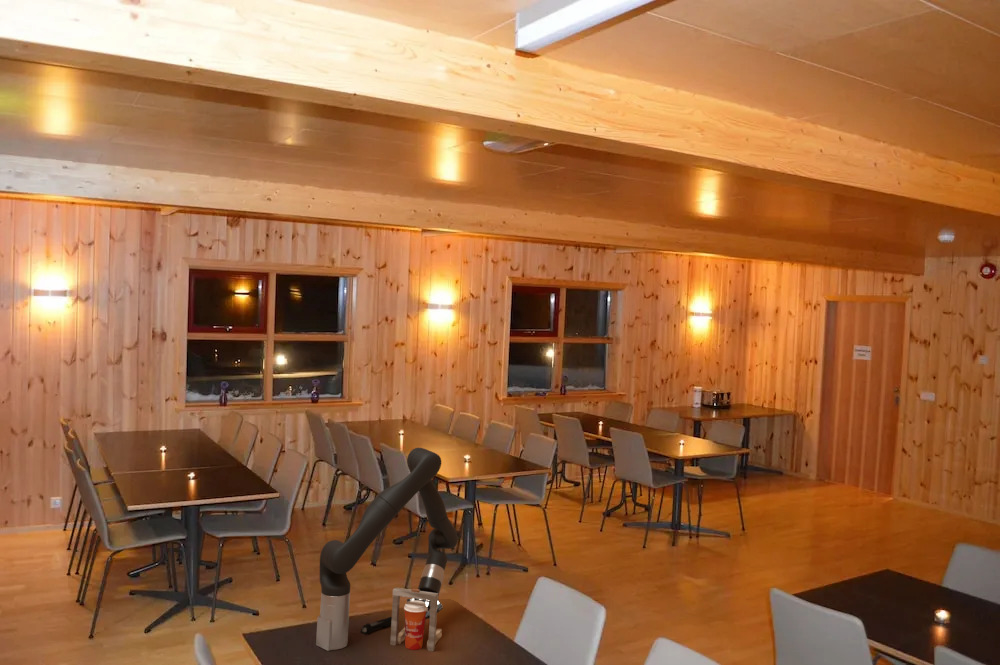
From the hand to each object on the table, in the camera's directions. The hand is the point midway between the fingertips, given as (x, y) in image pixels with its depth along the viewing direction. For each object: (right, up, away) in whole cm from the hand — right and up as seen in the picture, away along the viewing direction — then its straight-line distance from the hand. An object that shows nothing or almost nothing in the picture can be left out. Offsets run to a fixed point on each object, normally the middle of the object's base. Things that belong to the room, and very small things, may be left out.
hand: (417, 629), depth 262 cm
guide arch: (0, -4, +1) cm, 4 cm away
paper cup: (-1, -5, -4) cm, 6 cm away
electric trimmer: (-14, -4, +10) cm, 18 cm away
